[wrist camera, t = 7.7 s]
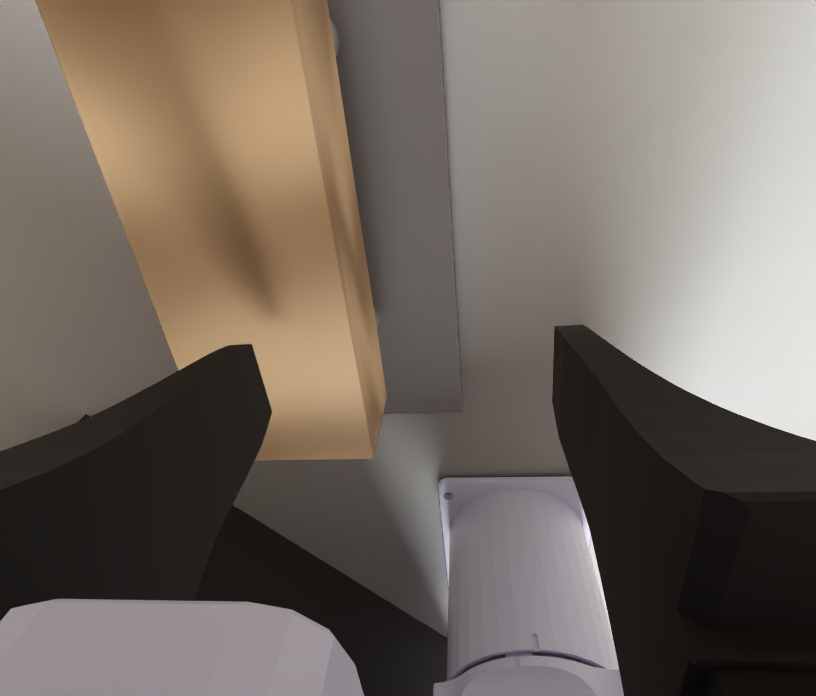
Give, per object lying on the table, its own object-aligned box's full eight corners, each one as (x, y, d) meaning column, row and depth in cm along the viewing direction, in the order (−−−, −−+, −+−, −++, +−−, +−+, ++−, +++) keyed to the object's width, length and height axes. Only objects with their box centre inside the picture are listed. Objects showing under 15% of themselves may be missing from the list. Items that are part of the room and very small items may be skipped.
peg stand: (461, 396, 24) (462, 456, 20) (243, 403, 25) (207, 460, 22) (428, -181, 14) (416, -263, 11) (77, -118, 16) (-39, -172, 12)
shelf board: (386, 396, 19) (373, 458, 16) (250, 400, 20) (213, 461, 17) (316, -68, 12) (271, -109, 9) (113, -36, 13) (10, -64, 10)
